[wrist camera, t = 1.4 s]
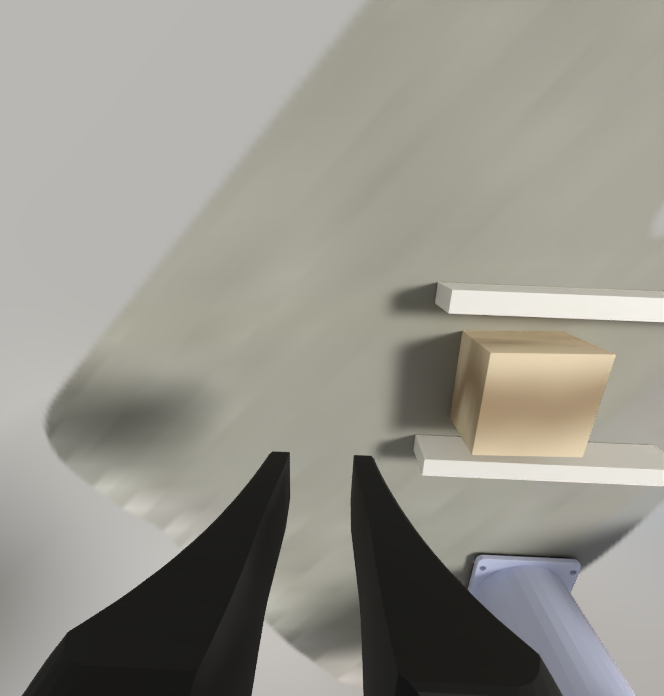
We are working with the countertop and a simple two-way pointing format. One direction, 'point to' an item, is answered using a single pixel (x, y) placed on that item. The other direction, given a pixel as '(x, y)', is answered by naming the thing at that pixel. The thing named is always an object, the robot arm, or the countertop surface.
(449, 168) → the countertop surface
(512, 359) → the birch block
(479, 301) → the channel rails
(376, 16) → the countertop surface
